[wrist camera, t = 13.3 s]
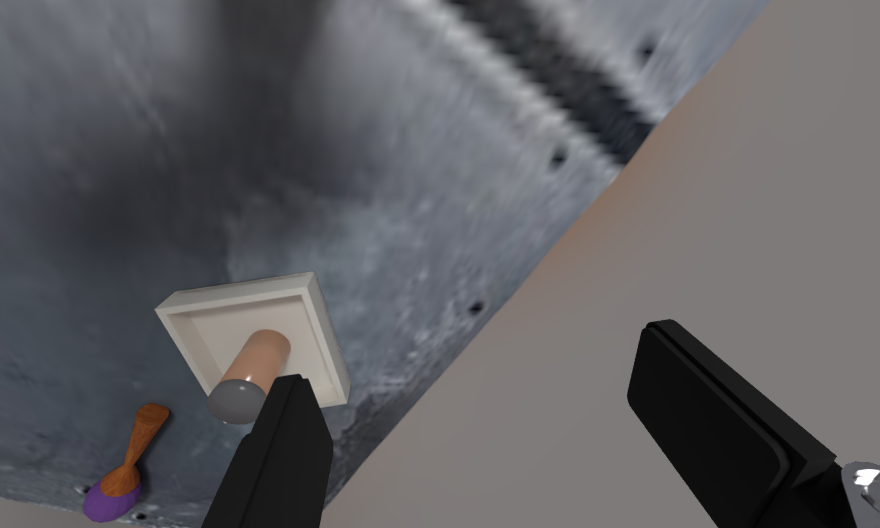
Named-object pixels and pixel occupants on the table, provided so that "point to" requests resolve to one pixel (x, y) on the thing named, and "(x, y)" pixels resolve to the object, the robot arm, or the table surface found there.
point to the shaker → (249, 378)
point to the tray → (252, 309)
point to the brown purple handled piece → (125, 470)
